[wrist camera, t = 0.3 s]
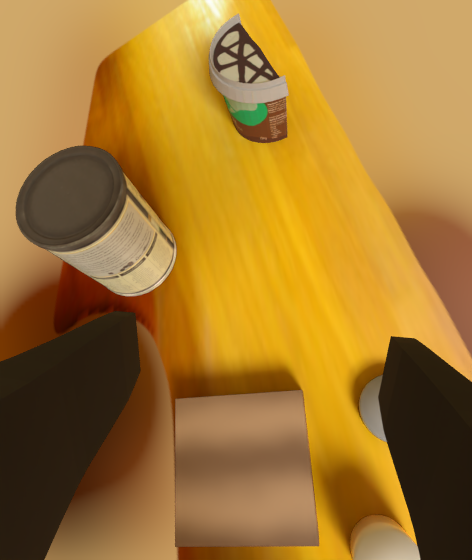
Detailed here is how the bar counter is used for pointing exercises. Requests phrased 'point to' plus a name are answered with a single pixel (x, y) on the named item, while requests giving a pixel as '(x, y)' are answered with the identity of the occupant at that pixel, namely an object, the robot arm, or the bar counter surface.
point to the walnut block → (243, 471)
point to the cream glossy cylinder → (381, 540)
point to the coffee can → (95, 221)
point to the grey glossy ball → (372, 408)
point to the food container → (248, 84)
